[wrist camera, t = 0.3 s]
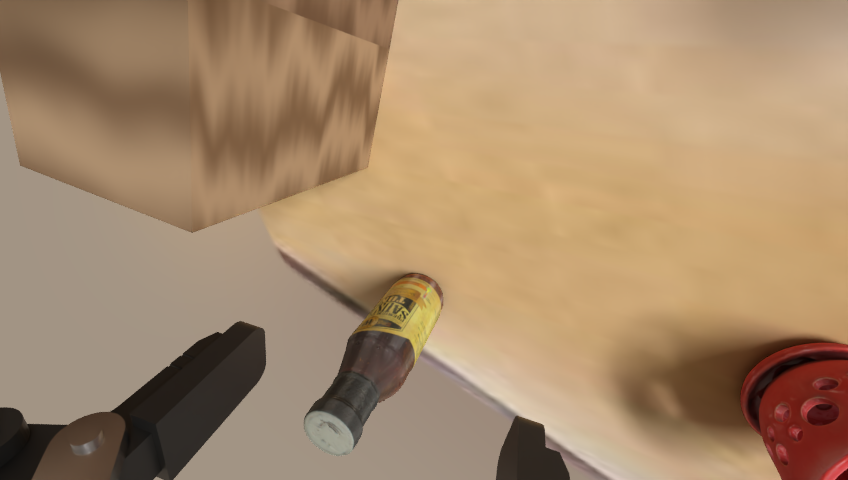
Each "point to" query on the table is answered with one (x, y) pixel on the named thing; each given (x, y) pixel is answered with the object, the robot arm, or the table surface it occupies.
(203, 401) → the robot arm
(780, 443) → the plant pot
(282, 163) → the block
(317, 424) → the sauce bottle
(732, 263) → the table surface
